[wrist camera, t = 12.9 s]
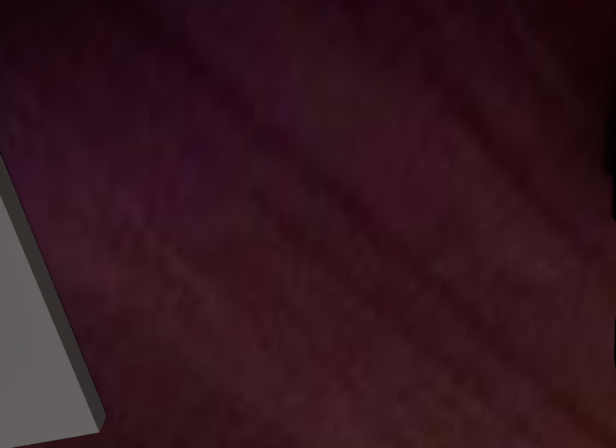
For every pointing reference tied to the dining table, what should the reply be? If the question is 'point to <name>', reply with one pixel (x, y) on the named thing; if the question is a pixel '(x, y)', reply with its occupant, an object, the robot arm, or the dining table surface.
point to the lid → (37, 343)
